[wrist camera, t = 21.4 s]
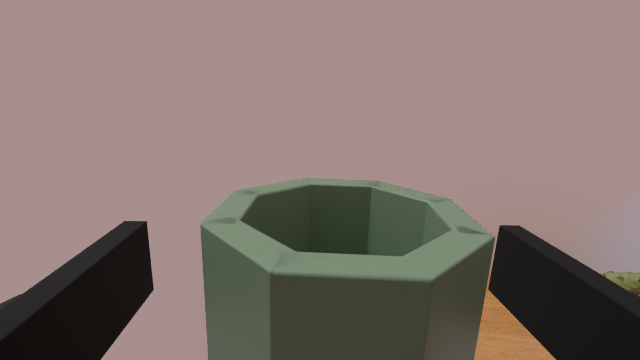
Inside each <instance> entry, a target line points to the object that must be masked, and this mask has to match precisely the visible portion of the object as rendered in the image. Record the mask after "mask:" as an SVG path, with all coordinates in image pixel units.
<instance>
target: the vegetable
mask: <svg viewBox="0 0 640 360" xmlns="http://www.w3.org/2000/svg"><path fill="white" fill-rule="evenodd" d="M604 277H606V278H608V279H609V280H611V281H613V282H614V283H616V284H618V285H619V286H621V287H623V288H624V289H626V290H628V291H629V292H631V293H633V294H634V295H638V294H640V273H631V272H622V273H614V272H612V271H609V272H607V273H604Z"/></svg>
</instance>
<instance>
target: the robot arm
mask: <svg viewBox="0 0 640 360" xmlns="http://www.w3.org/2000/svg"><path fill="white" fill-rule="evenodd" d="M488 289H489V290H490V292H491V293H492V294H493V295H494V296H495V297H496V298H497V299H498V300H499V301H500V302H501V303H502V304H503V305H504V306H505V307H506V308H507V309H508V310H509V311H510V312H511V313H512V314H513V315H514V316H515V317H516V318H517V319H518V320H519V322H520V323H521V324H522V325H523V326H524V327H525V328H526V329H527V330H528V331H529V332H530V333H531V334H532V335H533V336H534V337H535V338H536V339H537V340H538V341H539V342H540V343H541V344H542V345H543V346H544V347H545V348H546V349H547V350H548V352H549V353H550V354H551V355H552V356H553V357H554V358H555V359H556V360H640V298H639V297H638V296H636V295H634V294H633V293H631V292H629V291H628V290H626V289H624V288H623V287H621V286H619V285H618V284H616V283H614V282H613V281H611V280H609V279H608V278H606V277H604V276H603V275H601V274H599V273H597V272H596V271H594V270H592V269H591V268H589V267H587V266H586V265H584V264H582V263H581V262H579V261H577V260H576V259H574V258H572V257H571V256H569V255H567V254H566V253H564V252H562V251H561V250H559V249H557V248H555V247H554V246H552V245H550V244H549V243H547V242H545V241H544V240H542V239H541V238H539V237H537V236H535V235H534V234H532V233H530V232H529V231H527V230H525V229H524V228H522V227H520V226H505V225H502V226H500V227H499V233H498V239H497V244H496V250H495V255H494V261H493V266H492V272H491V277H490V283H489V288H488ZM152 291H153V279H152V270H151V259H150V250H149V240H148V230H147V222H146V221H145V222H144V221H124V222H123V223H122V224H120V225H118V226H117V227H116V228H114V229H113V230H111V231H110V232H109V233H107V234H106V235H104V236H103V237H102V238H100V239H99V240H97V241H96V242H95V243H93V244H92V245H90V246H89V247H88V248H86V249H85V250H84V251H82V252H81V253H79V254H78V255H76V256H75V257H74V258H72V259H71V260H70V261H68V262H67V263H65V264H64V265H63V266H61V267H60V268H58V269H57V270H55V271H54V272H53V273H51V274H50V275H49V276H47V277H46V278H44V279H43V280H41V281H40V282H39V283H38V284H36V285H34V286H33V287H32V288H30V289H29V290H28V291H26V292H25V293H23V294H20V295H18V296H16V297H13V298H11V299H9V300H7V301H5V302H3V303H1V304H0V360H101V358H102V357H103V355H104V354H105V353H106V352H107V350H108V349H109V348H110V346H111V345H112V344H113V343H114V341H115V340H116V338H117V337H118V336H119V335H120V333H121V332H122V331H123V329H124V328H125V327H126V325H127V324H128V323H129V321H130V320H131V319H132V318H133V316H134V315H135V313H136V312H137V311H138V310H139V308H140V307H141V306H142V304H143V303H144V302H145V300H146V299H147V298H148V296H149V295H150V293H151V292H152Z"/></svg>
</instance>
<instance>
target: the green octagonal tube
mask: <svg viewBox="0 0 640 360" xmlns="http://www.w3.org/2000/svg"><path fill="white" fill-rule="evenodd" d="M494 241H495V237H494V236H493V235H491V234H490V233H489V232H488V231H487V230H486V229H484V228H483V227H482V226H481V225H480V224H478V223H477V222H476V221H475V220H474V219H473V218H472V217H470V216H469V215H468V214H467V213H466V212H465V211H463V210H462V209H461V208H460V207H459V206H457V205H456V204H455V203H454V202H453V201H451V200H450V199H447V198H443V197H439V196H435V195H431V194H427V193H423V192H419V191H415V190H411V189H408V188H404V187H400V186H396V185H392V184H388V183H383V182H380V181H366V180H339V179H315V178H302V179H297V180H292V181H286V182H281V183H275V184H270V185H265V186H260V187H254V188H248V189H243V190H238V191H234V192H233V193H232V194H231V195H230V196H229V197H228V198H227V199H226V200H225V201H224V202H223V203H222V204H221V205H220V206H219V207H218V208H217V209H216V210H215V211H214V212H213V213H212V214H211V215H210V216H209V217H208V218H207V219H206V220H205V221H204V222H202V224H201V242H202V258H203V274H204V275H203V276H204V292H205V310H206V326H207V343H208V359H209V360H474V355H475V349H476V343H477V338H478V332H479V326H480V321H481V315H482V309H483V304H484V298H485V292H486V286H487V281H488V275H489V269H490V264H491V258H492V252H493V246H494Z"/></svg>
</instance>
